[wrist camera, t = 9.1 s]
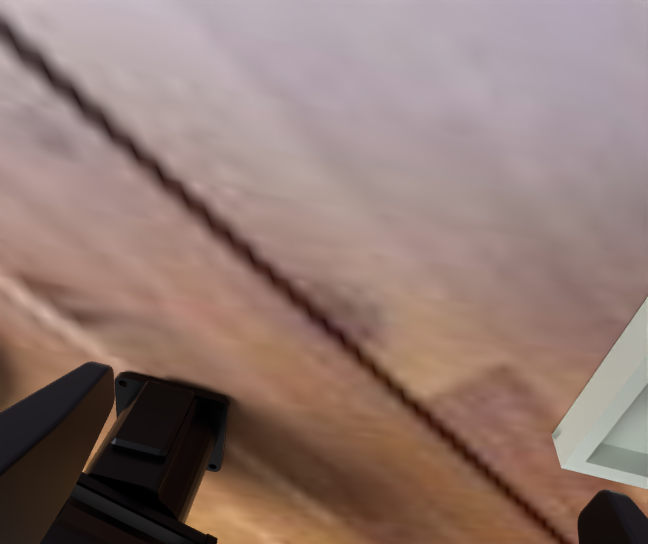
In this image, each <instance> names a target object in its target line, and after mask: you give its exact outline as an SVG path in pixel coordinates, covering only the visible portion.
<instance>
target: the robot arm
mask: <svg viewBox="0 0 648 544" xmlns="http://www.w3.org/2000/svg"><path fill="white" fill-rule="evenodd" d="M115 397H116V414H117V420H116V421H115V423H114V424H113V426H112V428H111V429H110V431H109V432H108V434H107V436H106V437H105V439H104V440H103V442H102V444H101V445H100V447H99V449H98V450H97V452H96V453H95V455H94V457H93V458H92V460H91V461H90V463H89V465H88V466H87V468H86V469H85V471H84V473H83V472H82V470H83V468H84V466H85V464H86V462H87V460H88V458H89V456H90V454H91V451H92V449H93V447H94V445H95V443H96V441H97V439H98V437H99V435H100V433H101V431H102V428H103V426H104V424H105V422H106V420H107V418H108V416H109V414H110V412H111V409H112V407H113V404H114V400H115ZM229 408H230V402H229V400H228V399H227V398H226V397H223V396H220V395H216V394H212V393H208V392H204V391H200V390H196V389H192V388H188V387H184V386H180V385H176V384H172V383H168V382H164V381H159V380H155V379H151V378H147V377H143V376H139V375H135V374H131V373H127V372H121V373H119V374H118V376H117V377H116V379H115V389H114V372H113V369H112V367H111V366H109V365H105V364H101V363H97V362H87V363H85V364H83V365H81V366H80V367H78V368H76V369H75V370H73V371H71V372H69V373H68V374H66V375H64V376H62V377H61V378H59V379H57V380H56V381H54V382H52V383H50V384H49V385H47V386H45V387H44V388H42V389H40V390H38V391H37V392H35V393H33V394H31V395H30V396H28V397H26V398H25V399H23V400H21V401H19V402H18V403H16V404H14V405H12V406H11V407H9V408H7V409H6V410H4V411H2V412H0V544H217V538H216V537H214V536H212V535H210V534H207V535H206V534H204V533H202V532H200V531H198V530H196V529H194V528H192V527H190V526H188V525H186V524H185V522H186V519H187V517H188V514H189V512H190V509H191V507H192V504H193V502H194V499H195V496H196V494H197V491H198V489H199V486H200V484H201V481H202V478H203V476H204V473H205V471H206V470H209V471H213V472H217V471H219V470H220V468H221V466H222V463H223V455H224V447H225V439H226V431H227V423H228V415H229ZM578 537H579V544H648V518H647V517H646V516H645V515H644V513H643V512H642V511H641V510H640V509H639V508H638V506H637V505H636V504H635V503H634V502H633V501H632V500H631V499H630V498H629V497H628V496H627V495H625V494H622V493H619V492H615V491H611V490H606V489H603V490H600V491H599V492H598V493H597V494H596V495H595V496H594V497H593V499H592V500H591V501H590V502H589V503H588V504H587V505H586V507H585V508H584V509H583V510H582V511H581V513H580V515H579V518H578Z"/></svg>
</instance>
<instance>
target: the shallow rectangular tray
mask: <svg viewBox="0 0 648 544" xmlns="http://www.w3.org/2000/svg"><path fill="white" fill-rule="evenodd" d="M552 437H553V441H554V444H555V448H556V451H557V455H558V458H559V462H560V465H561V468H564V469H568V470H572V471H576V472H580V473H584V474H588V475H592V476H596V477H600V478H604V479H608V480H612V481H617V482H621V483H625V484H629V485H633V486H637V487H641V488H645V489H648V297H647V299H646V300H645V301H644V303H643V304H642V306H641V307H640V309H639V310H638V312H637V313H636V314H635V316H634V317H633V319H632V320H631V322H630V323H629V325H628V326H627V327H626V329H625V330H624V332H623V333H622V335H621V336H620V337H619V339H618V340H617V342H616V343H615V345H614V346H613V348H612V349H611V350H610V352H609V353H608V355H607V356H606V358H605V359H604V360H603V362H602V363H601V365H600V366H599V368H598V369H597V371H596V372H595V373H594V375H593V376H592V378H591V379H590V381H589V382H588V384H587V385H586V386H585V388H584V389H583V391H582V392H581V394H580V395H579V396H578V398H577V399H576V401H575V402H574V404H573V405H572V407H571V408H570V409H569V411H568V412H567V414H566V415H565V417H564V418H563V420H562V421H561V422H560V424H559V425H558V427H557V428H556V430H555V431H554V432H553V434H552Z"/></svg>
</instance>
